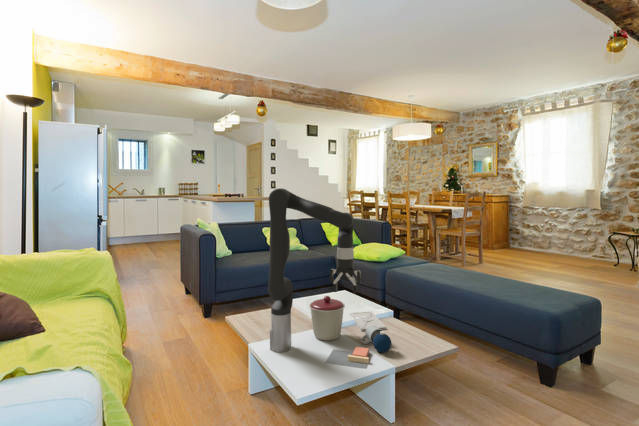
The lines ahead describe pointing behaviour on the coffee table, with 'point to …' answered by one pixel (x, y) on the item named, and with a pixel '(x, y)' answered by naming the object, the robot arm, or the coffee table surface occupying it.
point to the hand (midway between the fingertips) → (345, 292)
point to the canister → (327, 318)
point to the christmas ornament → (382, 342)
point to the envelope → (367, 320)
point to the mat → (347, 359)
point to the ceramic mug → (370, 334)
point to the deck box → (361, 352)
